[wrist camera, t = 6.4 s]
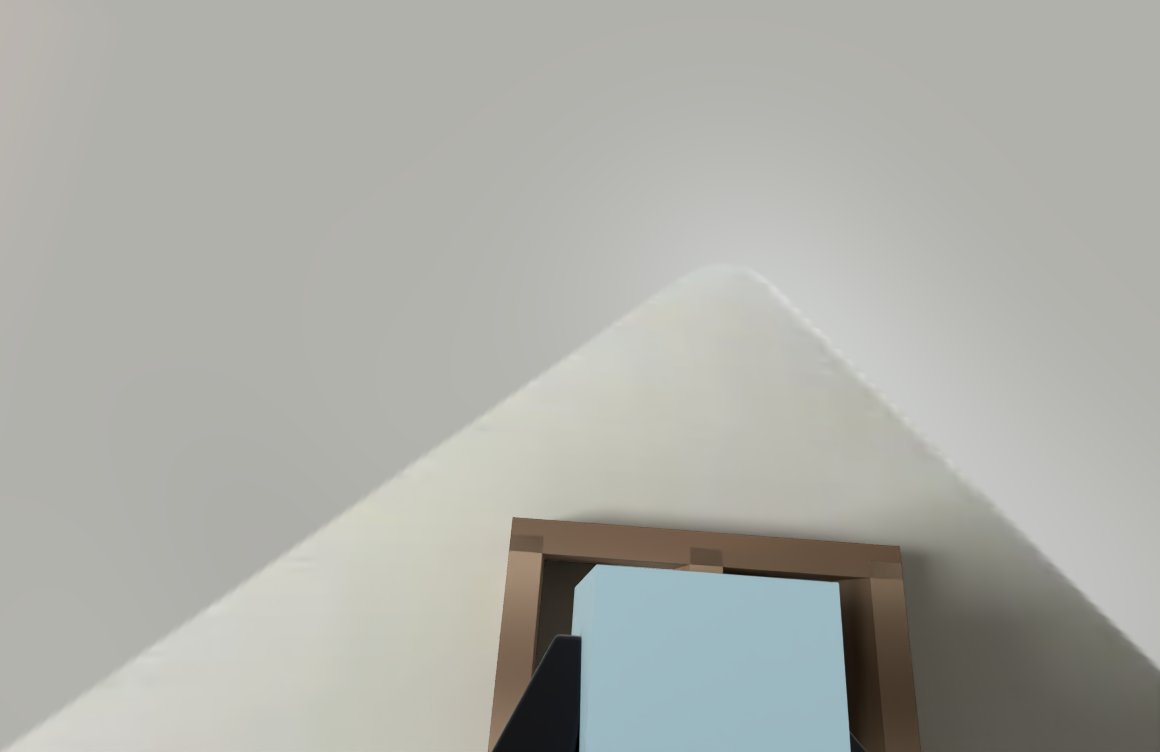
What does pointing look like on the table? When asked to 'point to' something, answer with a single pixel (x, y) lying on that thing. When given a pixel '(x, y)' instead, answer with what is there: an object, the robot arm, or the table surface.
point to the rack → (860, 569)
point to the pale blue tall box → (709, 663)
